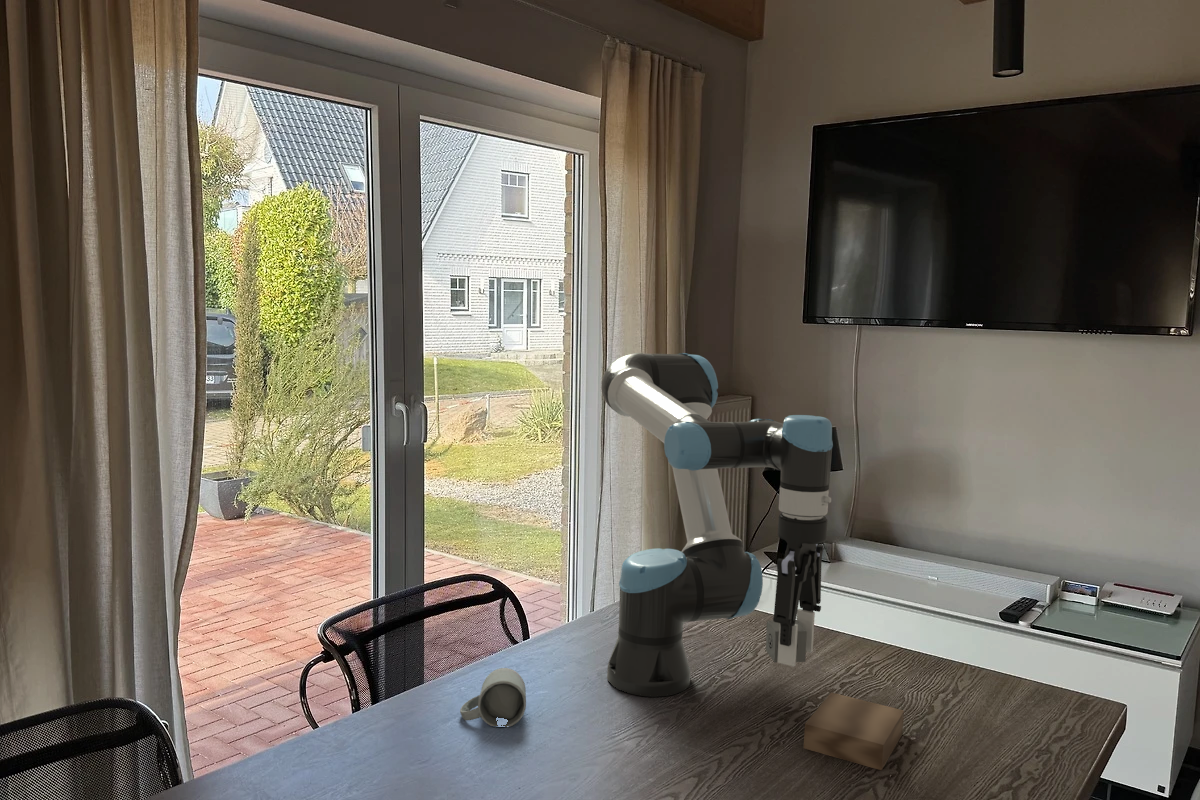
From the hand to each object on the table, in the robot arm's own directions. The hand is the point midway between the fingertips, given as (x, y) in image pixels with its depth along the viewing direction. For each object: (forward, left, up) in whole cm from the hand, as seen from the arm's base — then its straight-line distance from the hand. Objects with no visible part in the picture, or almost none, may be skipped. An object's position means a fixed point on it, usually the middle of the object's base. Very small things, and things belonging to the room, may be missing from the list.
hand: (795, 656), depth 144 cm
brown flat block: (+9, +4, -13) cm, 16 cm away
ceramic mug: (-43, -22, -13) cm, 50 cm away
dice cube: (-2, 0, 0) cm, 2 cm away
